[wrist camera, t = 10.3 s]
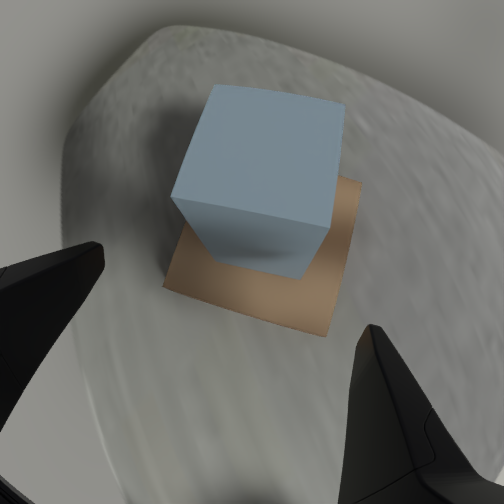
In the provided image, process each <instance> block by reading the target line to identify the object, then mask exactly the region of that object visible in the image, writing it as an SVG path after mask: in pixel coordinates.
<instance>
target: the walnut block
mask: <svg viewBox="0 0 504 504" xmlns="http://www.w3.org/2000/svg"><path fill="white" fill-rule="evenodd" d="M361 187H362V183H361V182H358V181H355V180H352V179H348V178H345V177H342V176H339V175H338V177H337V185H336V192H335V199H334V206H333V212H332V219H331V225H330V229H329V231H328V233H327V235H326V236H325V238H324V240H323V242H322V243H321V245H320V247H319V249H318V250H317V252H316V254H315V256H314V257H313V259H312V261H311V263H310V264H309V266H308V268H307V270H306V271H305V273H304V275H303V276H302V278H301V280H298V279H293V278H288V277H284V276H279V275H275V274H270V273H265V272H261V271H256V270H252V269H247V268H243V267H238V266H234V265H229V264H225V263H220V262H216V261H215V260H214V258H213V257H212V256H211V254H210V253H209V251H208V250H207V249H206V247H205V246H204V244H203V243H202V242H201V240H200V239H199V237H198V236H197V234H196V233H195V232H194V230H193V229H192V227H191V226H190V224H189V223H188V222H187V220H186V222H185V225H184V227H183V230H182V233H181V235H180V238H179V241H178V244H177V246H176V249H175V252H174V255H173V257H172V260H171V263H170V266H169V269H168V272H167V275H166V278H165V280H164V283H163V286H162V287H165V288H167V289H169V290H172V291H174V292H177V293H180V294H183V295H186V296H189V297H191V298H194V299H197V300H200V301H203V302H206V303H210V304H213V305H216V306H219V307H222V308H225V309H228V310H231V311H234V312H238V313H241V314H244V315H247V316H251V317H254V318H257V319H261V320H264V321H267V322H271V323H274V324H277V325H281V326H284V327H288V328H291V329H295V330H299V331H302V332H306V333H309V334H313V335H317V336H322V337H326V336H327V333H328V329H329V326H330V322H331V319H332V315H333V311H334V308H335V304H336V300H337V296H338V292H339V289H340V285H341V281H342V277H343V272H344V268H345V264H346V260H347V255H348V251H349V247H350V242H351V237H352V233H353V228H354V223H355V218H356V213H357V208H358V203H359V198H360V192H361Z"/></svg>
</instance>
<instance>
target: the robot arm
mask: <svg viewBox="0 0 504 504" xmlns="http://www.w3.org/2000/svg"><path fill="white" fill-rule="evenodd" d="M104 267H105V259H104V249H103V246H102V244H100V243H97V242H94V241H90V242H87V243H83V244H80V245H76V246H73V247H69V248H66V249H62V250H59V251H56V252H52V253H49V254H46V255H42V256H39V257H35V258H32V259H29V260H26V261H23V262H19V263H16V264H13V265H10V266H8V267H3V268H0V432H1V430H2V428H3V426H4V425H5V423H6V421H7V419H8V417H9V416H10V414H11V412H12V410H13V408H14V407H15V405H16V403H17V402H18V400H19V398H20V397H21V395H22V393H23V391H24V389H25V388H26V386H27V385H28V383H29V381H30V380H31V378H32V377H33V375H34V374H35V372H36V370H37V369H38V367H39V366H40V364H41V362H42V361H43V360H44V358H45V357H46V355H47V354H48V352H49V350H50V349H51V348H52V346H53V345H54V343H55V342H56V340H57V339H58V337H59V336H60V334H61V333H62V332H63V330H64V329H65V327H66V326H67V325H68V323H69V322H70V320H71V319H72V318H73V316H74V315H75V314H76V312H77V311H78V309H79V308H80V307H81V305H82V304H83V302H84V301H85V299H86V298H87V296H88V294H89V293H90V291H91V290H92V288H93V286H94V285H95V283H96V281H97V280H98V278H99V277H100V275H101V273H102V272H103V270H104ZM0 504H35V503H33V502H32V501H31V500H29V499H28V498H27V497H26V496H24V495H23V494H22V493H20V492H19V491H18V490H17V489H16V488H15V487H13V486H12V485H11V484H9V482H7V481H6V480H5V479H4V478H3V477H2V476H1V475H0ZM338 504H504V486H501V485H499V484H496V483H493V482H490V481H488V480H486V479H484V478H483V477H481V476H480V475H479V474H478V473H477V472H476V471H475V470H474V468H473V467H472V465H471V464H470V463H469V461H468V460H467V458H466V457H465V455H464V454H463V452H462V451H461V450H460V448H459V447H458V445H457V444H456V443H455V441H454V440H453V438H452V437H451V435H450V434H449V432H448V431H447V429H446V428H445V426H444V425H443V423H442V421H441V420H440V418H439V417H438V415H437V413H436V412H435V410H434V408H432V405H431V403H430V402H429V400H428V398H427V397H426V395H425V394H424V392H423V390H422V389H421V387H420V386H419V384H418V382H417V381H416V379H415V378H414V376H413V374H412V373H411V371H410V370H409V368H408V367H407V365H406V364H405V362H404V360H403V359H402V357H401V356H400V354H399V353H398V351H397V350H396V348H395V347H394V345H393V344H392V342H391V341H390V339H389V338H388V336H387V335H386V333H385V332H384V330H383V329H382V328H381V327H380V326H377V325H373V324H369V325H367V327H366V328H365V330H364V332H363V334H362V335H361V337H360V339H359V341H358V343H357V346H356V350H355V357H354V364H353V370H352V376H351V382H350V389H349V401H348V416H347V429H346V440H345V450H344V459H343V468H342V476H341V483H340V491H339V497H338Z"/></svg>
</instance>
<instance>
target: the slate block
mask: <svg viewBox="0 0 504 504" xmlns="http://www.w3.org/2000/svg"><path fill="white" fill-rule="evenodd" d="M344 115H345V104H341V103H337V102H332V101H327V100H323V99H318V98H313V97H308V96H302V95H297V94H291V93H285V92H278V91H272V90H265V89H257V88H249V87H240V86H230V85H219V84H215V85H214V87H213V90H212V92H211V94H210V96H209V99H208V101H207V103H206V106H205V108H204V110H203V113H202V115H201V117H200V120H199V122H198V125H197V127H196V130H195V132H194V135H193V137H192V140H191V142H190V145H189V147H188V150H187V152H186V155H185V158H184V160H183V163H182V166H181V168H180V171H179V174H178V177H177V179H176V182H175V185H174V188H173V191H172V193H171V196H170V197H171V198H172V200H173V201H174V203H175V204H176V206H177V207H178V209H179V210H180V211H181V213H182V214H183V216H184V217H185V219H186V220H187V222H188V223H189V224H190V226H191V227H192V229H193V230H194V232H195V233H196V234H197V236H198V237H199V239H200V240H201V242H202V243H203V244H204V246H205V247H206V249H207V250H208V251H209V253H210V254H211V256H212V257H213V258H214V260H215V261H216V262H220V263H225V264H229V265H234V266H238V267H243V268H247V269H252V270H256V271H261V272H265V273H270V274H275V275H279V276H284V277H288V278H293V279H298V280H301V278H302V276H303V275H304V273H305V271H306V270H307V268H308V266H309V264H310V263H311V261H312V259H313V257H314V256H315V254H316V252H317V250H318V249H319V247H320V245H321V243H322V242H323V240H324V238H325V236H326V235H327V233H328V231H329V229H330V225H331V219H332V212H333V206H334V199H335V192H336V185H337V177H338V169H339V161H340V153H341V144H342V135H343V125H344Z"/></svg>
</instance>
